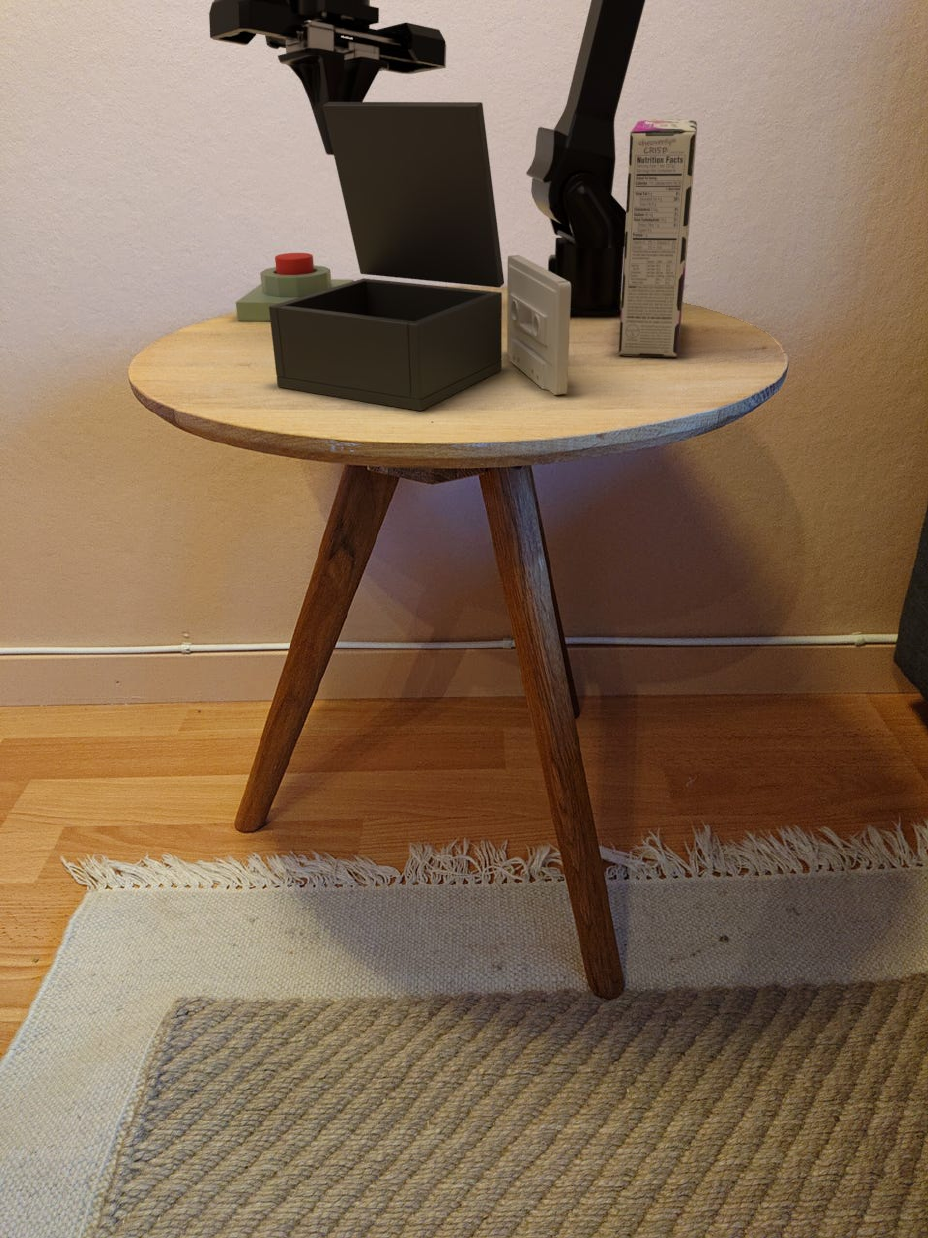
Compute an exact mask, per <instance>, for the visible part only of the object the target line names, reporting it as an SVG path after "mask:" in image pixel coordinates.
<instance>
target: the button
mask: <svg viewBox="0 0 928 1238" xmlns="http://www.w3.org/2000/svg"><path fill="white" fill-rule="evenodd" d="M274 261H275V267H276V273H277V274H281V275H301V274H309V273H313V272H314V265H315V264H314V263H315V262H314V256H313V253H309V252H308V253H307V252H287V253H286V252H285V253H281V254H277V255H275V256H274Z"/></svg>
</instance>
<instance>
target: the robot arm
mask: <svg viewBox="0 0 928 1238" xmlns="http://www.w3.org/2000/svg"><path fill="white" fill-rule="evenodd" d="M645 3H646V0H590V5H589V9H588V14H587V16H586V21H585V25H584V30H583V34H582V37H581V43H580V46H579V49H578V54H577V58H576V63H575V67H574V71H573V76H572V80H571V83H570V88H569V92H568V97H567V100H566V104H565V107H564V109H563V112H562V114H561V116H560V118H559V119H558V121H557V123H556V125H555V127H554V128H553V129H552V128H547V127H543V126H539V127H538V128H537V131H536V136H535V150H534V157H533V159H532V161H531V165H530V166H529V168H528V169H527V171H526V176H528V177H530V178H532V180H531V189H530V192H531V197H532V199H533V202H534V203H535V206H536V207H537V209H538V210H539V212H541V213H542V214H543V215H544V216H545V217H547V218H548V219H549V222H550V225H551V228H552V231H553V234H554V235H555V236H559V237H555V241H554V242H555V244H554V245H555V246H554V247H555V248H554V254H550V255H549V256H548V262H547V263H548V265H547V270H548V271H550V272H552V273H554V274H556V275H557V276H559V277H561V278H563V279H565V280H567V281H569V282H570V283H571V305H570V316H621V301H622V282H623V263H624V245H625V226H626V209H624V207H623V206H622V205H621V204H620V203H619V202H618V200H617V199H616V198H615V197H614V196H613V186H614V178H615V168H616V159H617V158H616V138H615V137H616V136H615V120H616V119H615V118H616V114H617V110H618V106H619V102H620V99H621V94H622V91H623V87H624V83H625V79H626V76H627V73H628V67H629V65H630V60H631V57H632V54H633V48H634V45H635V41H636V37H637V33H638V30H639V26H640V23H641V18H642V14H643V11H644V7H645ZM208 21H209V22H208V24H209V38H210V39H211V40H214V41H218V42H224V43H228V44H234V45H239V46H247V45H249V44H250V43H251V42H252V40H253V39H254V38H255V37H256V36H257V35H262V36H264V37H265V43H266V46H267V47H268V48H271V49H274V50H279V49H280V48H282V49H285V53H282V54H279V55H277V59H278V61H279V63H280V64H282V65H286V66H288V67H289V68H290V70H292V71H293V73H294V74H295V75H296V76H297V78H298V79H299V80H300V83H301V84H302V87H303V89H304V91H305V94H306V96H307V98H308V101H309V104H310V107H311V110H312V114H313V116H314V120H315V123H316V126H317V130H318V132H319V135H320V138H321V139H320V140H321V142H322V145H323V148H324V151H325V154H326V155H328V156H334V153H333V149H332V144H331V140H330V136H329V131H328V127H327V122H326V118H325V113H324V109H323V105H324V104H326V103H328V102H364V100H365V98H366V96H367V94H368V92H369V90H370V88H371V87H372V85H373V83H374V81H375V79H376V77H377V76H378V73H379V72H383V71H385V72H390V73H396V74H401V75H413V74H419V73H424V72H430V71H435V70H441V69H446V67H447V43H446V39H445V37H444V36H443V33H442V32H441V31H440V29H438V28H434V27H430V26H429V27H428V26H424V25H421V24H415V23H410V22H401V23H398V24H394V25H389V26H386V27H382V28H378V29H375V28H371V27H370V26H373V25H376V24H379V23H380V22H379V21H380V8H379V7H376V6H372V5H371V0H213V1H212V3H211V6H210V9H209V12H208Z"/></svg>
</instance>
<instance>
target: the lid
mask: <svg viewBox="0 0 928 1238" xmlns="http://www.w3.org/2000/svg"><path fill="white" fill-rule="evenodd" d="M483 104H484V103H483V102H481V101H363V102H328V103H326V104H324V105H323V109H324V113H325V118H326V122H327V127H328V131H329V136H330V140H331V144H332V149H333V153H334V155H333V156H334V157H333V158H334V162H335V166H336V171H337V175H338V181H339V185H340V188H341V194H342V197H343V203H344V206H345V212H346V216H347V220H348V224H349V229H350V233H351V237H352V242H353V247H354V251H355V254H356V255H355V256H356V260H357V264H358V269H359V272H360V274H361V275H366V276H378V277H386V278H397V279H406V280H407V279H408V280H418V281H427V282H438V283H449V284H457V285H467V286H468V285H469V286H477V287H478V286H479V287H487V288H488V287H489V288H501V287H502V286H504V284H505V277H504V268H503V262H502V261H503V260H502V253H501V252H502V251H501V243H500V237H499V228H498V221H497V212H496V211H497V210H496V204H495V196H494V188H493V179H492V172H491V171H492V170H491V163H490V154H489V147H488V146H489V145H488V136H487V129H486V121H485V113H484V112H485V111H484V105H483Z"/></svg>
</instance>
